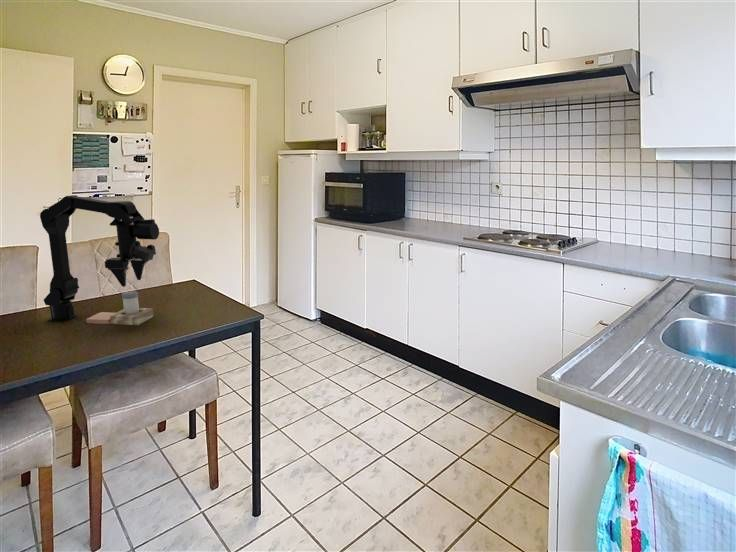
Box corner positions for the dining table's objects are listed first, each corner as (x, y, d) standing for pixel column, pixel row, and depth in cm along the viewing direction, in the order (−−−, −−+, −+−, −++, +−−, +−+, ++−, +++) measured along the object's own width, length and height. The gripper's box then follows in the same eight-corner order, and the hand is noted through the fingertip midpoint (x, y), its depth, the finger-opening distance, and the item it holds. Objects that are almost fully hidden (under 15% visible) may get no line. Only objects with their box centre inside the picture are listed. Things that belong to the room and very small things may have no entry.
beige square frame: (111, 324, 168) (110, 315, 167) (127, 315, 178) (126, 307, 177) (138, 325, 167) (137, 317, 167) (153, 316, 177) (152, 308, 176)
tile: (86, 323, 169) (86, 319, 169) (101, 316, 177) (100, 312, 176) (108, 324, 168) (107, 319, 168) (121, 316, 176) (121, 312, 176)
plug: (121, 322, 170) (118, 294, 168) (130, 317, 175) (127, 291, 173) (135, 322, 170) (132, 295, 167) (143, 318, 175) (140, 291, 172)
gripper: (133, 244, 155) (138, 291, 159) (163, 235, 173) (167, 277, 177) (101, 243, 156) (106, 289, 160) (134, 234, 174) (138, 276, 178)
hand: (131, 283), depth 168 cm, fingers open, 9 cm apart
